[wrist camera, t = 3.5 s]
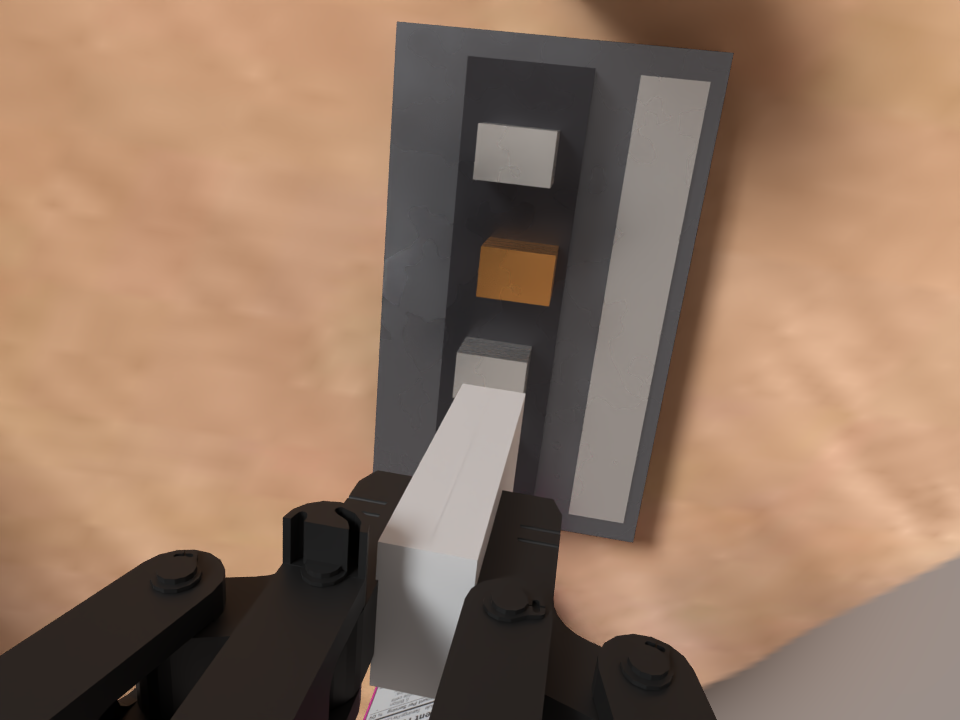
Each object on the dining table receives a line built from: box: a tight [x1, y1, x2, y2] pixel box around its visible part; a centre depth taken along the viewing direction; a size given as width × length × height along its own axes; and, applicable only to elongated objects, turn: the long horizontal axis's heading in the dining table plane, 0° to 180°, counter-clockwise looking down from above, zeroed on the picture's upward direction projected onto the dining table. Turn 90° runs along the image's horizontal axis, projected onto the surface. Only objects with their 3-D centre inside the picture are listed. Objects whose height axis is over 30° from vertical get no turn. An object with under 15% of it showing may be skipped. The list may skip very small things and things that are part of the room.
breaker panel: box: [373, 22, 734, 542], centre depth 27 cm, size 20×12×6 cm, turn 174°
